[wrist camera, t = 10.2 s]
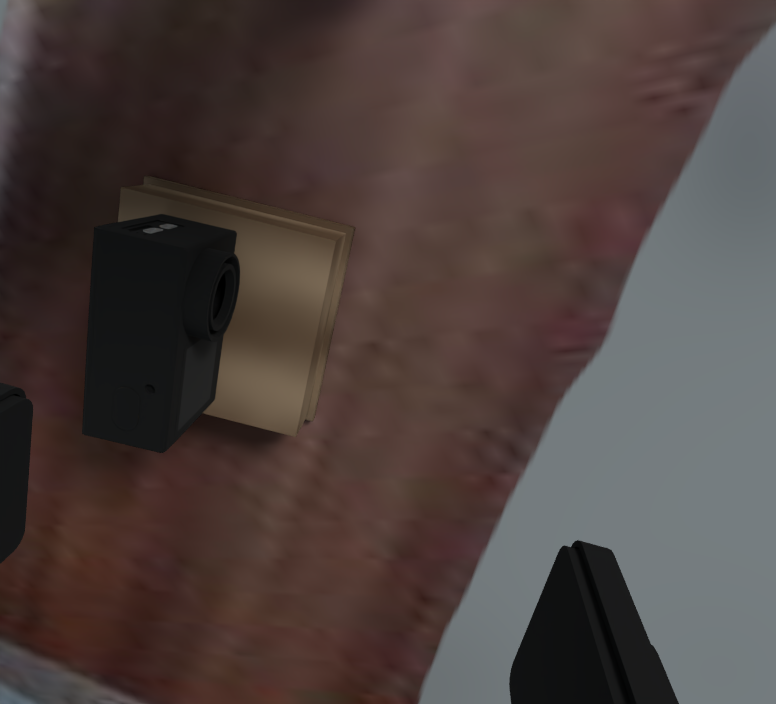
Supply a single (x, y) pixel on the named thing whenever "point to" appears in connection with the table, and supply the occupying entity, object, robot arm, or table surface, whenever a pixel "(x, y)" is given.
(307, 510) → the table surface
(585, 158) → the table surface
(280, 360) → the plinth
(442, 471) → the table surface
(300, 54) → the table surface
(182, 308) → the digital camera
